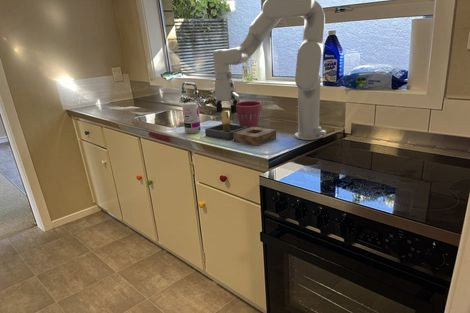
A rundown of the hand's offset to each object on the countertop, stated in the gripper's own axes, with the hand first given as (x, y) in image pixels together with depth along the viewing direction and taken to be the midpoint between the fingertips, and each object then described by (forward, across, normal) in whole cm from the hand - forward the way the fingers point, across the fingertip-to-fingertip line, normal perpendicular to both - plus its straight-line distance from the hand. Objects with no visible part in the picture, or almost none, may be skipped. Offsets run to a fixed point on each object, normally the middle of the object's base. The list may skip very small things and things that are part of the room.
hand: (226, 112), depth 169 cm
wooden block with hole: (+12, -17, 0) cm, 21 cm away
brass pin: (+10, +1, 0) cm, 10 cm away
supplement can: (+11, +21, +5) cm, 24 cm away
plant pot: (+12, +1, -17) cm, 20 cm away
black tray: (+11, +1, 0) cm, 11 cm away
